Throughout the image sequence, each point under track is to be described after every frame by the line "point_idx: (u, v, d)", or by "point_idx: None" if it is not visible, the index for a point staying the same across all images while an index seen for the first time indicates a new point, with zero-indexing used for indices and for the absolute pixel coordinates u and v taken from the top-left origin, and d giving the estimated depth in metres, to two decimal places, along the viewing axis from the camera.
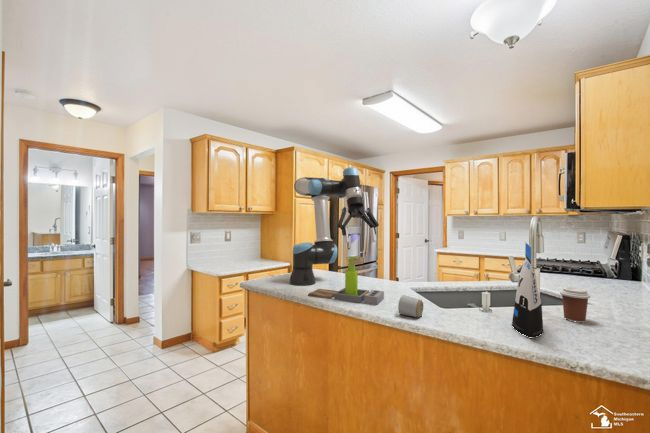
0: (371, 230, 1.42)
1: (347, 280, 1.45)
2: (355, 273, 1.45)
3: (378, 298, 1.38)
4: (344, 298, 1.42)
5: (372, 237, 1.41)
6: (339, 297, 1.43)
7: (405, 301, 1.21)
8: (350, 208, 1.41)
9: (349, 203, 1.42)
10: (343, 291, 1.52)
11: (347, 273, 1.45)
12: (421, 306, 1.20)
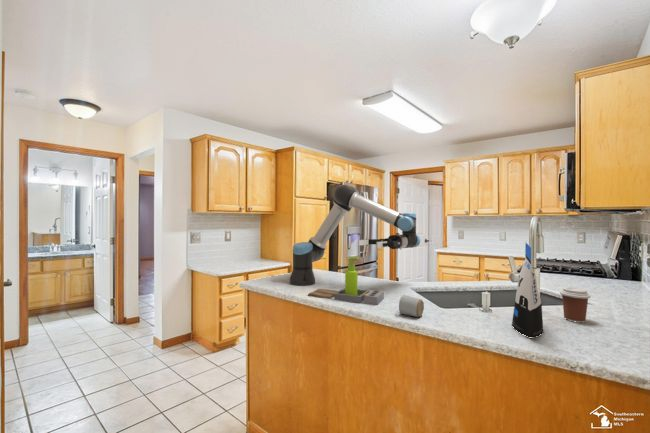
0: (366, 242, 1.61)
1: (347, 280, 1.45)
2: (355, 273, 1.45)
3: (378, 298, 1.38)
4: (344, 298, 1.42)
5: (362, 242, 1.59)
6: (339, 297, 1.43)
7: (406, 301, 1.21)
8: None
9: None
10: (343, 291, 1.52)
11: (347, 273, 1.45)
12: (421, 306, 1.21)
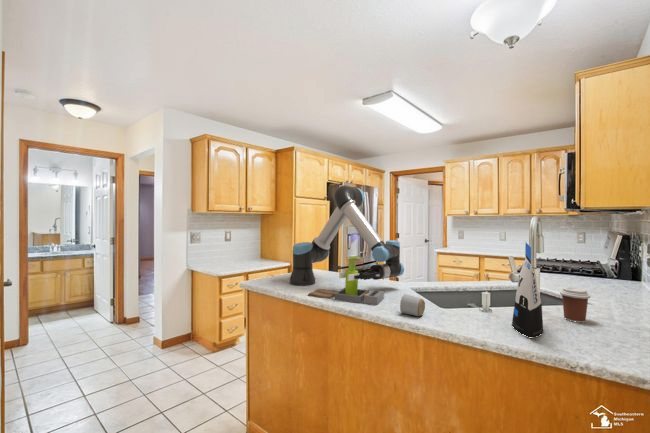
0: None
1: (347, 280, 1.45)
2: (355, 273, 1.45)
3: (378, 298, 1.38)
4: (344, 298, 1.42)
5: (343, 275, 1.48)
6: (339, 297, 1.43)
7: (407, 300, 1.22)
8: None
9: (380, 275, 1.53)
10: (343, 291, 1.52)
11: (347, 273, 1.45)
12: (423, 305, 1.22)
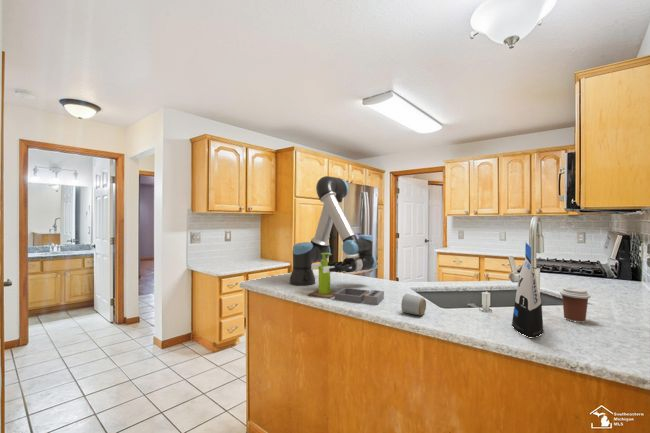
0: None
1: (320, 275, 1.51)
2: None
3: (378, 298, 1.38)
4: (344, 298, 1.42)
5: (315, 266, 1.56)
6: (339, 297, 1.43)
7: (408, 299, 1.23)
8: None
9: (352, 268, 1.59)
10: (343, 291, 1.52)
11: (320, 269, 1.51)
12: (424, 304, 1.23)
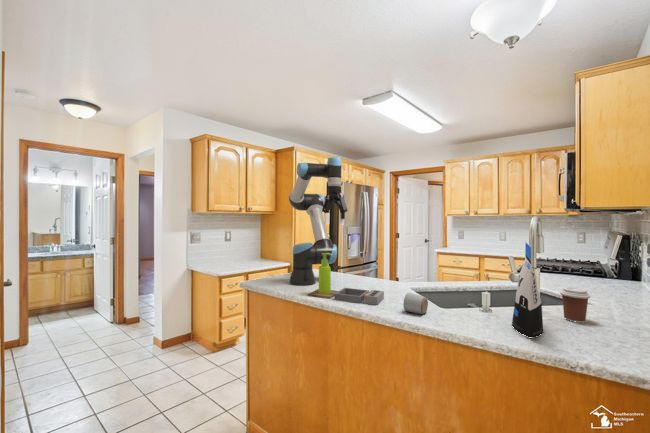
0: None
1: (320, 275, 1.51)
2: (328, 269, 1.51)
3: (378, 298, 1.38)
4: (344, 298, 1.42)
5: None
6: (339, 297, 1.43)
7: (410, 298, 1.24)
8: (329, 196, 1.69)
9: None
10: (343, 291, 1.52)
11: (320, 269, 1.51)
12: (426, 303, 1.24)
